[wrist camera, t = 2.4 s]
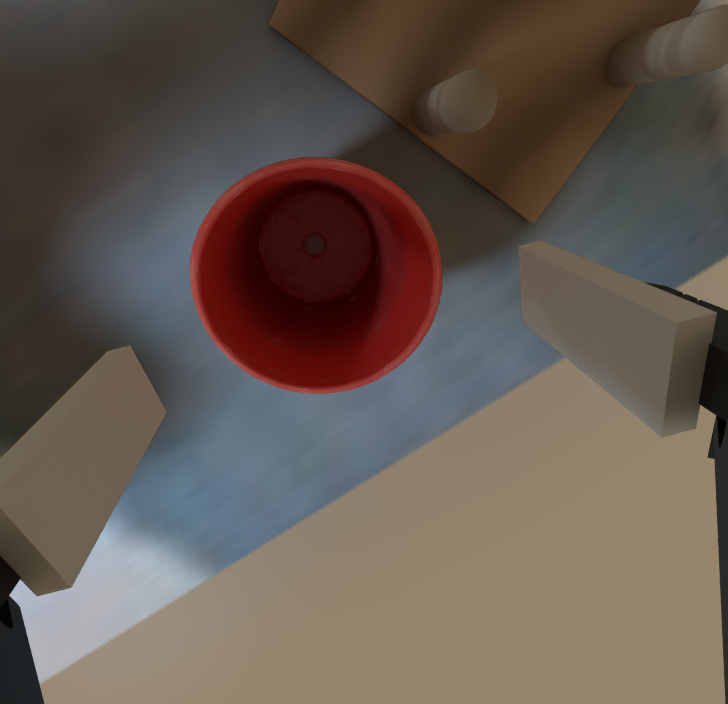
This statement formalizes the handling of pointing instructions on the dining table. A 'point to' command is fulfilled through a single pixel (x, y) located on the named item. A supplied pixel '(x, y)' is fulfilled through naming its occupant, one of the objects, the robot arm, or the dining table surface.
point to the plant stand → (505, 73)
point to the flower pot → (316, 275)
